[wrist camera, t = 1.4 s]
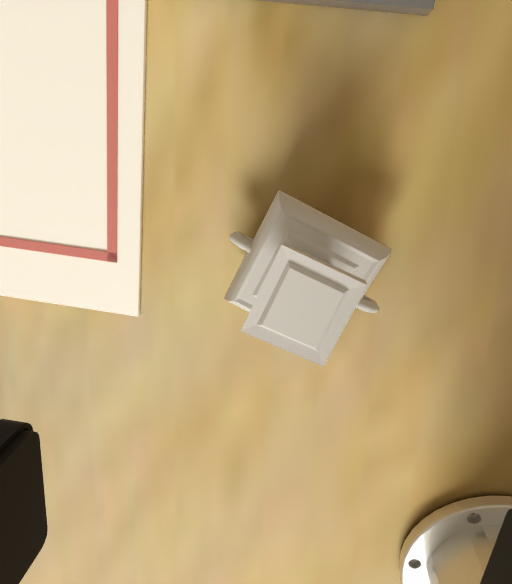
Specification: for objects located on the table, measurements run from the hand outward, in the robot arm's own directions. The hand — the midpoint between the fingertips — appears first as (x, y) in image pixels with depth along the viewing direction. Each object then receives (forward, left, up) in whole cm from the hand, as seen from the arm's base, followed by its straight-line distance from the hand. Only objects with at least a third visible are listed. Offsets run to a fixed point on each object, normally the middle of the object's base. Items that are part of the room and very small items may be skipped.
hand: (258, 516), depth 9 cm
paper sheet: (+17, -6, -19) cm, 27 cm away
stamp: (-1, 0, -19) cm, 19 cm away
